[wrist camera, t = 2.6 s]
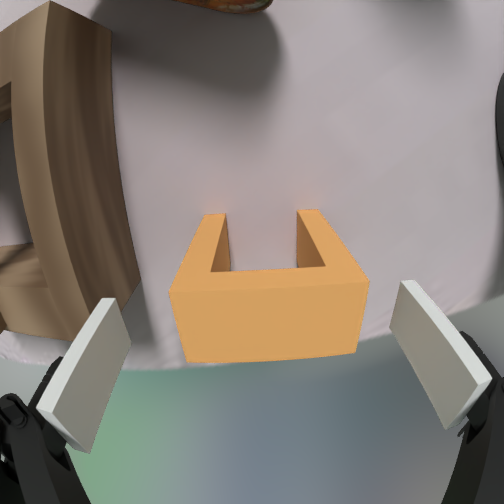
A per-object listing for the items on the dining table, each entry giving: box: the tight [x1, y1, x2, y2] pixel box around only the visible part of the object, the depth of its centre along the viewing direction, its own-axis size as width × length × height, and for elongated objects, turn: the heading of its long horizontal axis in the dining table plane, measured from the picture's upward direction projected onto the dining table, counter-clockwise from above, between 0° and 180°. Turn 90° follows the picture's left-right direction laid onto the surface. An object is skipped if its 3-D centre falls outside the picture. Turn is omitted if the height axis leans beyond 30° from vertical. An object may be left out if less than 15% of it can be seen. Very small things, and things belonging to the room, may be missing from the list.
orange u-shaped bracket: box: [169, 209, 370, 363], centre depth 16 cm, size 8×4×10 cm, turn 93°
